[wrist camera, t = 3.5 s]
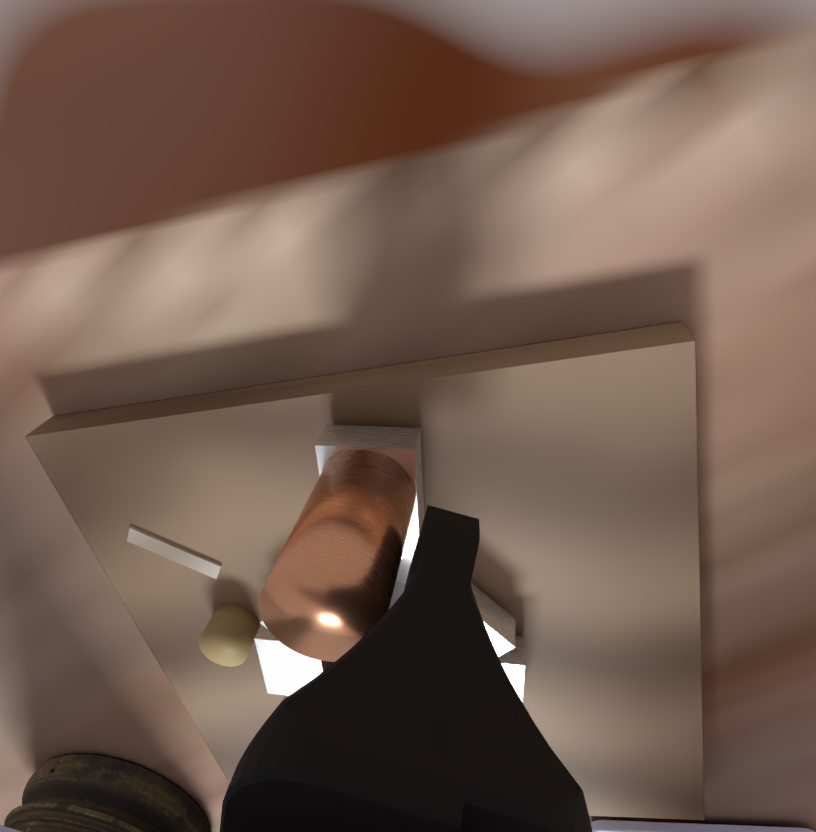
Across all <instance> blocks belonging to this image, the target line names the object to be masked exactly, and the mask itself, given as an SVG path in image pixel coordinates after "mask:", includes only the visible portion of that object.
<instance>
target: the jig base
mask: <svg viewBox="0 0 816 832" xmlns="http://www.w3.org/2000/svg"><path fill="white" fill-rule="evenodd" d="M326 425H350V426H376V427H403V428H421V448H422V469H423V490H424V512H425V513H426V509H427V506H428V505H430V506H434V507H437V508H441V509H444V510H448V511H452V512H455V513H459V514H463V515H466V516H470V517H474V518H477V519H479V526H480V541H479V546H478V551H477V555H476V560H475V565H474V570H473V574H472V579H471V583H472V584H473V585H474V586H475V587H477V588H478V589H479V590H480V591H482V592H483V593H484V594H485V595H486V596H488V597H489V598H490V599H491V600H493V601H494V602H495V603H496V604H497V605H499V606H500V607H501V608H502V609H503V610H505V611H506V612H507V613H508V614H510V615H511V616H512V617H513V618H514V619H516V622H515V636H517V637H525V671H524V688H523V704H524V706H525V707H526V709H527V711H528V713H529V714H530V716H531V718H532V720H533V721H534V723H535V724H536V726H537V727H538V729H539V730H540V732H541V734H542V735H543V737H544V738H545V740H546V741H547V743H548V744H549V746H550V747H551V749H552V750H553V751H554V753H555V754H556V755H557V757H558V758H559V759H560V761H561V762H562V763H563V765H564V766H565V767H566V769H567V770H568V771H569V773H570V774H571V775H572V777H573V778H574V779H575V781H576V782H577V783H578V785H579V786H580V787H581V789H582V790H583V793H584V797H585V801H586V805H587V809H588V813H589V816H609V817H635V818H661V819H687V820H704V776H703V725H702V674H701V623H700V572H699V521H698V470H697V419H696V368H695V340H694V339H693V337H692V335H691V334H690V332H689V331H688V329H687V328H686V326H685V325H684V323H683V322H676V323H669V324H663V325H656V326H649V327H643V328H636V329H630V330H623V331H616V332H610V333H603V334H597V335H590V336H583V337H577V338H570V339H563V340H557V341H550V342H544V343H537V344H530V345H524V346H517V347H511V348H504V349H497V350H491V351H484V352H477V353H471V354H464V355H458V356H451V357H444V358H438V359H431V360H424V361H418V362H411V363H405V364H398V365H391V366H385V367H378V368H372V369H365V370H358V371H352V372H345V373H338V374H332V375H325V376H319V377H312V378H305V379H299V380H292V381H285V382H279V383H272V384H266V385H259V386H252V387H246V388H239V389H233V390H226V391H219V392H213V393H206V394H199V395H193V396H186V397H180V398H173V399H166V400H160V401H153V402H146V403H140V404H133V405H127V406H120V407H113V408H107V409H100V410H94V411H87V412H80V413H74V414H67V415H60V416H54V417H51V418H50V419H49V420H47V421H46V422H45V423H43V424H42V425H40V426H39V427H38V428H36V429H35V430H33V431H32V432H31V433H29V434H28V435H27V436H25V437H26V439H27V441H28V443H29V444H30V446H31V448H32V449H33V451H34V453H35V454H36V456H37V458H38V460H39V461H40V463H41V465H42V466H43V468H44V470H45V471H46V473H47V475H48V476H49V478H50V480H51V482H52V483H53V485H54V487H55V488H56V490H57V492H58V493H59V495H60V497H61V498H62V500H63V502H64V504H65V505H66V507H67V509H68V510H69V512H70V514H71V515H72V517H73V519H74V521H75V522H76V524H77V526H78V527H79V529H80V531H81V532H82V534H83V536H84V537H85V539H86V541H87V543H88V544H89V546H90V548H91V549H92V551H93V553H94V554H95V556H96V558H97V560H98V561H99V563H100V565H101V566H102V568H103V570H104V571H105V573H106V575H107V576H108V578H109V580H110V582H111V583H112V585H113V587H114V588H115V590H116V592H117V593H118V595H119V597H120V598H121V600H122V602H123V604H124V605H125V607H126V609H127V610H128V612H129V614H130V615H131V617H132V619H133V621H134V622H135V624H136V626H137V627H138V629H139V631H140V632H141V634H142V636H143V637H144V639H145V641H146V643H147V644H148V646H149V648H150V649H151V651H152V653H153V654H154V656H155V658H156V660H157V661H158V663H159V665H160V666H161V668H162V670H163V671H164V673H165V675H166V676H167V678H168V680H169V682H170V683H171V685H172V687H173V688H174V690H175V692H176V693H177V695H178V697H179V699H180V700H181V702H182V704H183V705H184V707H185V709H186V710H187V712H188V714H189V715H190V717H191V719H192V721H193V722H194V724H195V726H196V727H197V729H198V731H199V732H200V734H201V736H202V737H203V739H204V741H205V743H206V744H207V746H208V748H209V749H210V751H211V753H212V754H213V756H214V758H215V760H216V761H217V763H218V765H219V766H220V768H221V770H222V771H223V773H224V775H225V776H226V778H227V780H228V782H229V783H230V782H231V779H232V777H233V774H234V772H235V769H236V767H237V765H238V763H239V761H240V759H241V757H242V755H243V754H244V752H245V750H246V749H247V747H248V745H249V744H250V742H251V741H252V739H253V738H254V736H255V735H256V734H257V732H258V731H259V730H260V728H261V727H262V726H263V724H264V723H265V722H266V720H267V719H268V718H269V717H270V715H271V714H272V713H273V712H274V710H275V709H276V708H277V707H278V705H279V704H280V703H281V701H282V700H283V698H284V695H277V694H269V693H267V689H266V685H265V681H264V677H263V673H262V669H261V665H260V660H259V656H258V652H257V648H256V644H255V640H254V638H255V636H256V634H257V632H258V630H259V627H260V625H261V624H260V621H261V619H262V618H261V615H260V611H259V597H260V594H261V591H262V589H263V587H264V585H265V583H266V581H267V579H268V577H269V575H270V573H271V571H272V569H273V567H274V565H275V563H276V561H277V559H278V557H279V555H280V553H281V551H282V549H283V547H284V546H285V544H286V542H287V540H288V538H289V536H290V534H291V532H292V530H293V528H294V526H295V524H296V522H297V520H298V518H299V516H300V514H301V512H302V510H303V508H304V506H305V504H306V502H307V500H308V498H309V496H310V494H311V492H312V490H313V488H314V486H315V484H316V482H317V480H318V478H319V469H318V462H317V455H316V449H315V444H316V443H317V441H318V439H319V437H320V436H321V434H322V432H323V430H324V428H325V427H326Z"/></svg>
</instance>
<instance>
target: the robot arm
mask: <svg viewBox="0 0 816 832" xmlns="http://www.w3.org/2000/svg"><path fill="white" fill-rule="evenodd" d="M479 541H480V526H479V519H477V518H474V517H470V516H466V515H463V514H459V513H455V512H452V511H448V510H444V509H441V508H437V507H434V506H430V505H428V506H427V509H426V513H425V516H424V520H423V523H422V526H421V530H420V533H419V537H418V540H417V544H416V547H415V551H414V554H413V558H412V561H411V565H410V568H409V572H408V576H407V580H406V584H405V588H404V592H403V594H402V595H401V596H400V597H399V599H398V600H397V601H396V602H395V603H394V605H393V606H392V607H391V608H390V609H389V610H388V611H387V613H386V614H385V615H384V616H383V617H382V618H381V619H380V620H379V621H378V622H377V623H376V624H375V625H374V626H373V627H372V628H371V629H370V630H369V631H368V632H367V633H366V634H365V635H364V636H363V637H362V638H361V639H360V640H359V641H358V642H357V643H356V644H355V645H354V646H353V647H352V648H351V649H350V650H348V651H347V652H346V653H345V654H344V655H342V656H341V657H340V658H339V659H338V660H336V661H335V662H334V663H333V664H332V665H330V666H329V667H328V668H327V669H326V670H324V671H323V672H322V673H321V674H319V675H318V676H317V677H315V678H314V679H313V680H311V681H310V682H308V683H307V684H306V685H304V686H303V687H301V688H300V689H298V690H297V691H296V692H294V693H293V694H291V695H290V696H288V697H287V698H286V699H284V700H283V701H281V703H280V704H279V705H278V707H277V708H276V709H275V710H274V712H273V713H272V714H271V715H270V717H269V718H268V719H267V720H266V722H265V723H264V724H263V726H262V727H261V728H260V730H259V731H258V732H257V734H256V735H255V736H254V738H253V739H252V741H251V742H250V744H249V745H248V747H247V749H246V750H245V752H244V754H243V755H242V757H241V759H240V761H239V763H238V765H237V767H236V769H235V772H234V774H233V777H232V779H231V782H230V784H229V787H228V789H227V792H226V795H225V798H224V800H223V805H222V815H221V825H220V832H815V831H813V830H811V829H808V828H797V827H772V826H747V825H722V824H697V823H671V822H646V821H621V820H595V821H593V822H592V823H591V822H590V817H589V813H588V809H587V805H586V801H585V797H584V793H583V790H582V789H581V787H580V786H579V785H578V783H577V782H576V781H575V779H574V778H573V777H572V775H571V774H570V773H569V771H568V770H567V769H566V767H565V766H564V765H563V763H562V762H561V761H560V759H559V758H558V757H557V755H556V754H555V753H554V751H553V750H552V749H551V747H550V746H549V744H548V743H547V741H546V740H545V738H544V737H543V735H542V734H541V732H540V730H539V729H538V727H537V726H536V724H535V723H534V721H533V720H532V718H531V716H530V714H529V713H528V711H527V709H526V707H525V706H524V704H523V702H522V701H521V699H520V697H519V695H518V694H517V692H516V690H515V688H514V687H513V685H512V683H511V681H510V679H509V678H508V676H507V673H506V671H505V669H504V667H503V665H502V663H501V661H500V659H499V657H498V655H497V653H496V651H495V648H494V646H493V644H492V642H491V639H490V637H489V635H488V632H487V630H486V627H485V625H484V622H483V619H482V616H481V614H480V611H479V608H478V605H477V602H476V599H475V596H474V593H473V590H472V586H471V579H472V574H473V570H474V565H475V560H476V555H477V551H478V546H479ZM0 832H21V831H18V830H15V829H11V828H8V827H5V826H2V825H0Z"/></svg>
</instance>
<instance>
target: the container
mask: <svg viewBox="0 0 816 832" xmlns="http://www.w3.org/2000/svg"><path fill="white" fill-rule="evenodd" d="M4 826H5V827H8V828H11V829H15V830H18V831H21V832H211V830H210V825H209V822H208V820H207V818H206V816H205V814H204V812H203V811H202V809H201V808H200V807H199V806H198V805H197V803H196V802H195V801H194V800H192V799H191V798H190V797H189V796H188V795H187V794H186V793H185V792H184V791H182V790H181V789H180V788H178V787H177V786H175V785H174V784H172V783H171V782H169V781H168V780H166V779H165V778H163V777H161V776H159V775H158V774H156V773H154V772H151V771H149V770H147V769H144V768H142V767H139V766H137V765H134V764H131V763H129V762H126V761H122V760H119V759H115V758H110V757H105V756H99V755H92V754H73V755H66V756H60V757H57V758H54V759H51V760H49V761H48V762H46V763H45V764H44V765H43V766H41V767H40V768H39V769H38V770H37V771H36V772H35V773H34V774H33V775H32V776H31V778H30V779H29V781H28V783H27V784H26V787H25V789H24V792H23V797H22V806H19V807H17V808H15V809H13V810H12V811H11V812H10V813H9V814H8V815H7V817H6V819H5V823H4Z"/></svg>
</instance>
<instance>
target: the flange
mask: <svg viewBox="0 0 816 832" xmlns="http://www.w3.org/2000/svg"><path fill="white" fill-rule="evenodd" d="M315 449H316V455H317V462H318V469H319V478H318V480H317V482H316V484H315V486H314V488H313V490H312V492H311V494H310V496H309V498H308V500H307V502H306V504H305V506H304V508H303V510H302V512H301V514H300V516H299V518H298V520H297V522H296V524H295V526H294V528H293V530H292V532H291V534H290V536H289V538H288V540H287V542H286V544H285V546H284V547H283V549H282V551H281V553H280V555H279V557H278V559H277V561H276V563H275V565H274V567H273V569H272V571H271V573H270V575H269V577H268V579H267V581H266V583H265V585H264V587H263V589H262V591H261V594H260V597H259V611H260V615H261V618H262V619H261V621H260V624H261V625H260V627H259V630H258V632H257V634H256V636H255V638H254V640H255V644H256V648H257V652H258V656H259V660H260V665H261V669H262V673H263V677H264V681H265V685H266V689H267V693H269V694H277V695H284V698H283V700H284V699H286V698H287V697H288V696H290V695H291V694H293V693H294V692H296V691H297V690H298V689H300V688H301V687H303V686H304V685H306V684H307V683H308V682H310V681H311V680H313V679H314V678H315V677H317V676H318V675H319V674H321V673H322V672H323V671H324V670H326V669H327V668H328V667H329V666H330V665H332V664H333V663H334V662H335V661H336V660H338V659H339V658H340V657H341V656H342V655H344V654H345V653H346V652H347V651H348V650H350V649H351V648H352V647H353V646H354V645H355V644H356V643H357V642H358V641H359V640H360V639H361V638H362V637H363V636H364V635H365V634H366V633H367V632H368V631H369V630H370V629H371V628H372V627H373V626H374V625H375V624H376V623H377V622H378V621H379V620H380V619H381V618H382V617H383V616H384V615H385V614H386V613H387V611H388V610H389V609H390V608H391V607H392V606H393V605H394V603H395V602H396V601H397V600H398V599H399V597H400V596H401V595H402V594H403V592H404V588H405V584H406V580H407V576H408V572H409V568H410V565H411V561H412V558H413V554H414V551H415V547H416V544H417V540H418V537H419V533H420V530H421V526H422V523H423V520H424V516H425V512H424V490H423V469H422V448H421V428H403V427H376V426H350V425H326V427H325V428H324V430H323V432H322V434H321V436H320V437H319V439H318V441H317V443H316V444H315ZM471 586H472V590H473V593H474V596H475V599H476V602H477V605H478V608H479V611H480V614H481V616H482V619H483V622H484V625H485V627H486V630H487V632H488V635H489V637H490V639H491V642H492V644H493V646H494V648H495V651H496V653H497V655H498V657H499V659H500V661H501V663H502V665H503V667H504V669H505V671H506V673H507V676H508V678H509V679H510V681H511V683H512V685H513V687H514V688H515V690H516V692H517V694H518V695H519V697H520V699H521V701H522V702H523V688H524V671H525V637H517V636H515V622H516V619H514V618H513V617H512V616H511V615H510V614H508V613H507V612H506V611H505V610H503V609H502V608H501V607H500V606H499V605H497V604H496V603H495V602H494V601H493V600H491V599H490V598H489V597H488V596H486V595H485V594H484V593H483V592H482V591H480V590H479V589H478V588H477V587H475V586H474V585H473V584H472V583H471ZM283 700H282V701H283Z"/></svg>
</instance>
